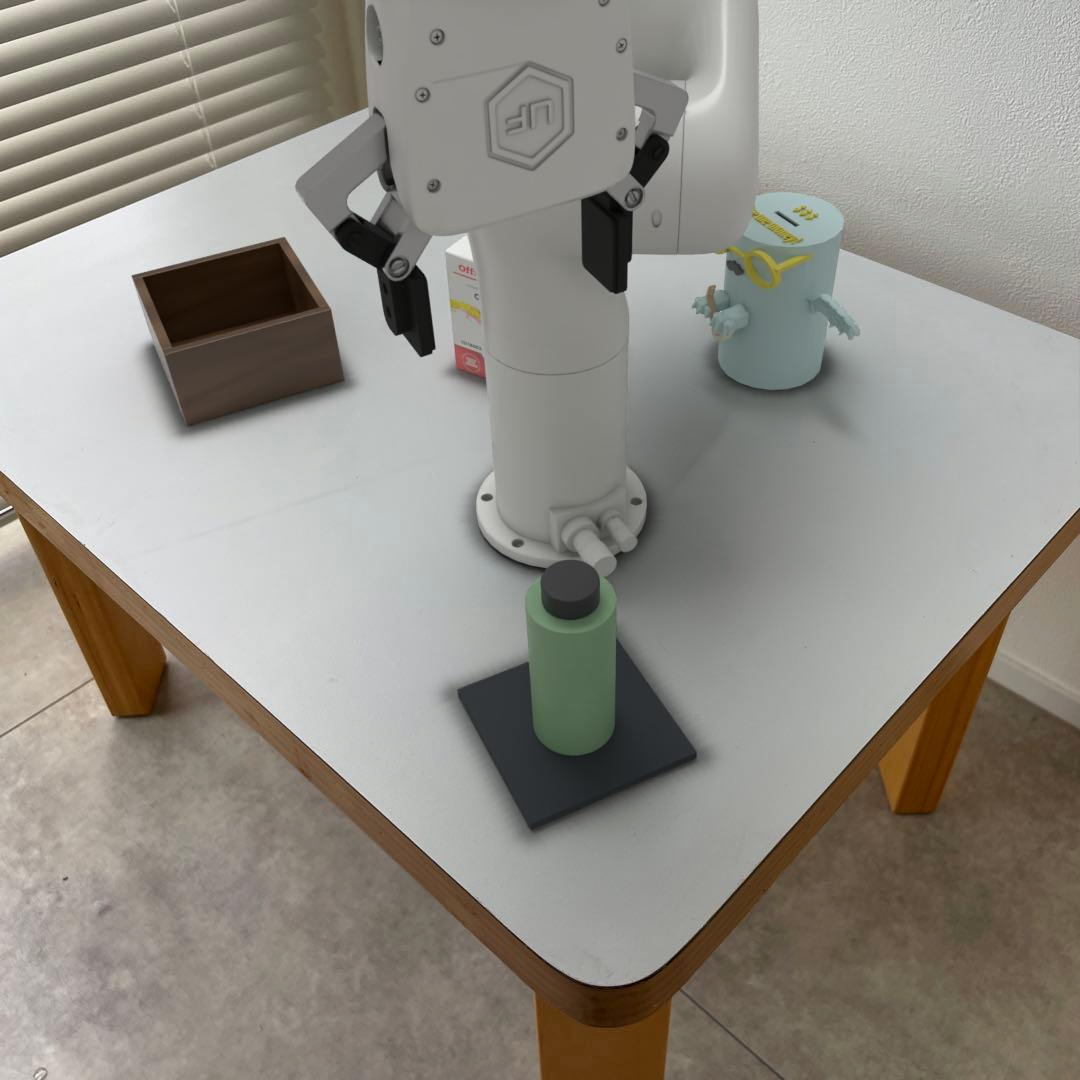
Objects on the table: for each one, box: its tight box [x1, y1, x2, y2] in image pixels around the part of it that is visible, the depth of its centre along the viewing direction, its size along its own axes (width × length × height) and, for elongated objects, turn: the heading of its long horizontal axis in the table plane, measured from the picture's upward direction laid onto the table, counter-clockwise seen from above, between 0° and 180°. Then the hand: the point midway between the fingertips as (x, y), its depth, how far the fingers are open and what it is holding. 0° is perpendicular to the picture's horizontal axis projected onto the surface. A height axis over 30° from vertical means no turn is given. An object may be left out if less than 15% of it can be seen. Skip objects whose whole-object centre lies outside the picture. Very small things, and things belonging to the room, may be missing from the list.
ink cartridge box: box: [444, 233, 486, 379], centre depth 92 cm, size 9×5×15 cm, turn 58°
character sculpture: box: [691, 191, 861, 391], centre depth 92 cm, size 20×12×13 cm, turn 29°
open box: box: [131, 236, 346, 428], centre depth 97 cm, size 14×14×7 cm
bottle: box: [524, 560, 617, 756], centre depth 65 cm, size 5×5×12 cm
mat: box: [456, 637, 698, 830], centre depth 70 cm, size 11×11×1 cm
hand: (512, 309), depth 52 cm, fingers open, 9 cm apart
